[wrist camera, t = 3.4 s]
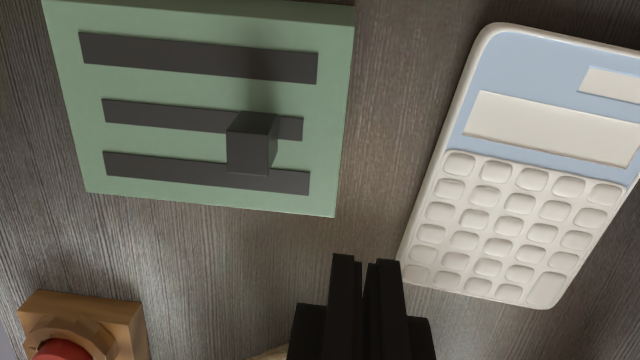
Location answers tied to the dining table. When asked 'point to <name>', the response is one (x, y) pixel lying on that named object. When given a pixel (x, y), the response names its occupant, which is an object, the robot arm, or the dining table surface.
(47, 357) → the button
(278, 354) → the bowl
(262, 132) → the slider
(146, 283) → the dining table surface
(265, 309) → the dining table surface
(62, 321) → the block
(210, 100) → the toaster
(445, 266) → the calculator
